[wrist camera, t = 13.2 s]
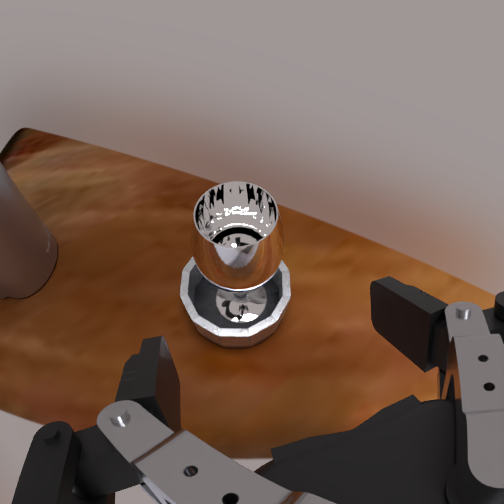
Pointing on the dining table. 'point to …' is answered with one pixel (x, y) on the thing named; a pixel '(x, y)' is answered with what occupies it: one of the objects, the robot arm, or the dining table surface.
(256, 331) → the grey bowl
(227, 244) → the wineglass
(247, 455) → the dining table surface
